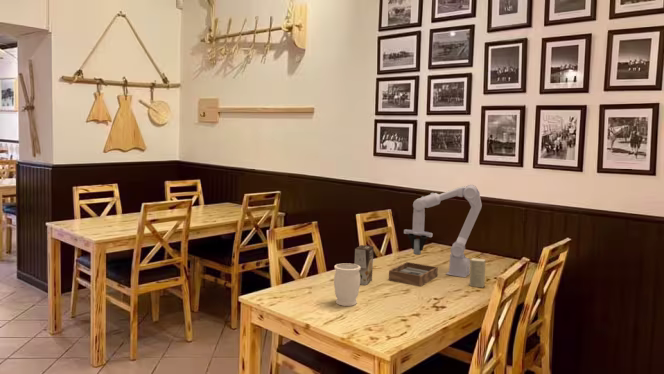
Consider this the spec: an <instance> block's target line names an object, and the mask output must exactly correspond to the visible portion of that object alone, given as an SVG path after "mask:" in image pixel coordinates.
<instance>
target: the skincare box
mask: <svg viewBox="0 0 664 374" xmlns="http://www.w3.org/2000/svg"><path fill="white" fill-rule="evenodd" d="M485 282H486V259H484V258H474V257H472V258H471V259H470V274H469V286H470V287H475V288H484V287H485V284H486V283H485Z"/></svg>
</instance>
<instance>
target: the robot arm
mask: <svg viewBox="0 0 664 374" xmlns="http://www.w3.org/2000/svg"><path fill="white" fill-rule="evenodd" d="M480 195H481V194H480V191H479V189H478V188H477V186H476V185H474V184H467V185H463V186H460V187H456V188H453V189H450V190H448V191H444V192H442V193H440V194H439V193H437V192H435V193H434V192H431V193H430V194H428V195H425V196H424V195H423V196H421V197H420V198H417V199H414V201H413V204H412V207H413V213H412V229H407V228H406V229H403V234H405V235H407V238H408V239H409V242H410V245H411V250H414V239H417V236H419V237H418V239H420V251H421V252H422V251H423V249H424V247H425V243H426V241H427V240H428V238H432V237H433V233H432V232H429V231H425V222H426V221H425V217H426V213H425V212H426V211H425V208H427V209H428V208H432V207H435V206H438V205H440V204H441V201H444V200H448V199H451V198H454V197H459V198H463V197H464V199H465V200H467V202H468V203H469V206H470V209H469V212H468V213H467V216H466V218H465V221H464V223H463V225H462V227H461V230H460V232H459V234H458V237H457V238H456V240H455V241H454V242H453V243H452V246H451V247H450V254H449V268H448V269H449V270H448V271H447V272H446V273H445V274H446V275H448V276H454V277H458V278H459V277H461V278H466V277H468V276H470V260H471V259H470V258H468V257H466V254H464V252H465V250H466V244H467V241H468V239H469V236H470V235H471V232H472V229H473V228H474V225H475V223H476V221H477V219H478V216H479V214H480V212H481V210H482V206H483V204H482V200H481V199H482V198H481V196H480Z"/></svg>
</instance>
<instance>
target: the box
mask: <svg viewBox="0 0 664 374" xmlns="http://www.w3.org/2000/svg"><path fill="white" fill-rule="evenodd" d="M438 270H439V267H436V266H432V265H425V264H420V263H414V262H408V261H406V262H404V263H403V264H400V265H398V266H396V267H394V268H392V269H389V270H388V281H393V282H397V283H401V284H402V283H403V284H407V285H411V286H417V287H422V286H424V285H426V284H427V283H429V282H431V281H432V280H434V279H435V278H438V273H439V271H438Z"/></svg>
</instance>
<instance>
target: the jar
mask: <svg viewBox="0 0 664 374" xmlns="http://www.w3.org/2000/svg"><path fill="white" fill-rule="evenodd" d="M360 269H361V268H360V266H359V265H356V264H354V263H350V262H349V263H347V262H346V263H336V264H335V265H334V270H335V272H334V277H333V285H334V286H333V287H334V293H335V297H336V300H335V303H336V304H337V305H339V306H343V307H351V306H355V305H357V304H358V303H357V302H358V301H357V299H358V295H359V293H360V292H359V291H360V287H361V286H360V285H361V284H360V273H359V270H360Z"/></svg>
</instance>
